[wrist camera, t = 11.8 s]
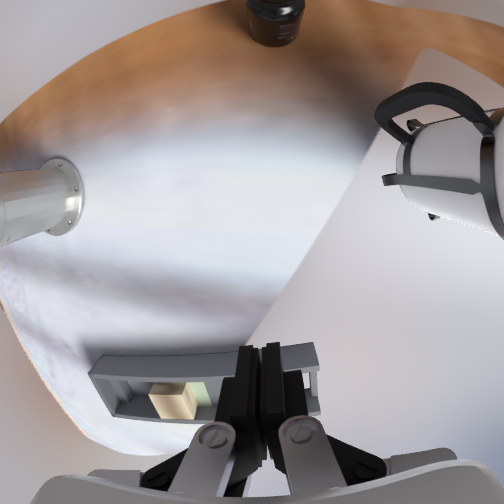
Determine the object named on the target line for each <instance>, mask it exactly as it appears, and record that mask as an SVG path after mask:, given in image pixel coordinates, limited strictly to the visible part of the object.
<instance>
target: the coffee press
mask: <svg viewBox="0 0 504 504" xmlns="http://www.w3.org/2000/svg"><path fill="white" fill-rule="evenodd" d="M428 104H434V105H435V104H436V105H441V106H444V107H447V108H450V109H452V110H454V111H455V112H457V113H459V114H460V115H461V116H458V117H454V118H450V119H445V120H441V121H437V122H433V123H429V124H425V125H424V124H422V123H420V122H419V121H418V120H417V119H412V120H408V121H407V127H408V129H409V130H410V131H411V132H410V133H409V134H408V133H407V132H406V131H405V130H403V129H402V128H400V127H399V126H398V125H397V124H396V123H395V122H394V121H393V120H392V118H393V117H395V116H397V115H400V114H402V113H405V112H407V111H410V110H412V109H415V108H418V107H421V106H424V105H428ZM493 111H495V112H493ZM487 112H489V113H487ZM374 116H375V120H376V121H377V123H378V124H379V125H380V126H381V127H382V128H383V129H384V130H385V131H387V132H388V133H389V134H390V135H392V136H393V137H394V138H395V139H397V140H398V141H400V142H401V145H400V148H399V150H398V154H397V159H396V171H397V173H393V174H387V175H383V176H382V179H383V183H384V186H389V185H400V187H401V189H402V191H403V193H404V195H405V196H406V198H407V199H408V200H409V201H410V202H411V203H412V204H413V205H414V206H415V207H417V208H418V209H420V210H422V211H424V212H427V213H428V215H429V218H430V219H431V220H435V219H438V218H440V217H444V218H447V219H450V220H453V221H456V222H459V223H462V224H465V225H468V226H471V227H474V228H477V229H480V230H483V231H486V232H489V233H491V234H494V235H497V236H500V237H501V238H502V239H503V240H504V108H498V109H492V110H486V111H484V110H483V109H482V108H481V107H480V106H479V105H478V104H477V103H476V102H475V101H474V100H472V99H471V98H470V97H469V96H467V95H466V94H464V93H462V92H461V91H459V90H457V89H455V88H453V87H450V86H447V85H444V84H440V83H434V82H422V83H417V84H414V85H412V86H409V87H407V88H405V89H403V90H401V91H399V92H397V93H396V94H394V95H392V96H390V97H389V98H387V99H385V100H384V101H382V102H381V103H380V104H379V105H378V107H377V109H376V111H375V114H374ZM462 117H464V118H462ZM458 118H459V119H458ZM453 119H454V120H453ZM448 120H450V121H448ZM444 121H446V122H444ZM440 122H441V123H440ZM435 123H437V124H435ZM431 124H433V125H431ZM428 125H429V126H428ZM415 126H417V127H420V126H422V127H420V128H418V129H417V128H416V127H415Z"/></svg>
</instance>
